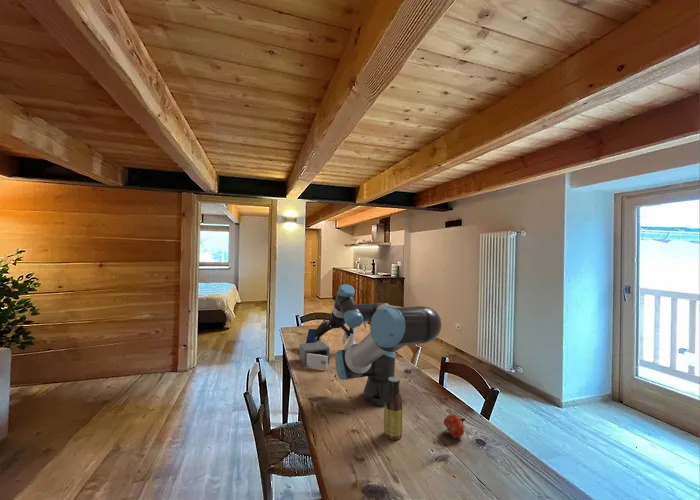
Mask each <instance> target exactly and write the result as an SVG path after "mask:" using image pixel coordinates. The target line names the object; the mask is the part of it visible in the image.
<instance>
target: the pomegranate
mask: <svg viewBox="0 0 700 500" xmlns="http://www.w3.org/2000/svg"><path fill="white" fill-rule="evenodd" d="M466 420H467V419H466V418H465V417H464V418H460V417H459V416H457V415H456V414H448V415H446V417H445V418H444V420H443V424H444V426H445V427H446V430H445V431H442V433H443V434H444V433H445V434H446V432H449V434H450V435H451V436H452V438H453V439H460V438H462V436H463V435H464V434H465V424H464V421H466Z"/></svg>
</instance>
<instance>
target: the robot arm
mask: <svg viewBox="0 0 700 500" xmlns="http://www.w3.org/2000/svg"><path fill="white" fill-rule="evenodd" d="M355 292H356V290H355V288H354V286H353V285H350V284H347V283H346V284H341V285H340V286H339V287H338V290H337V292H336V295H335V296H336V297H335V300H334V304H333V307H332V309H331V310H332V311H331V314H330V318H329V319H328V320H327V319H326V318H324V319H323V320H322V322H321V324H320V325H319V326H318V327H316V328H315V329H316V330H315V331H314V336H315V337H316V340H317V346H318V347H319V346H320V342H322V336H323V335H326V333H328V331H332V330H333V329H342V330H343V331H344V333H343V336H342V339H341V342H342V344H343V345H346V342H347V339H348V340H349V336H350V334H353V333H354V334H355V331H354V332H353V329H352V328H355V329H356V328H357V327H361V326H362V325H361V324H363V321H368V322H370V324H369V331H370V332H369V333H368V334H367V335H366V336H365V337H364V338H363V339H362V340H361V341H359V343H356V344H353V345H351V346H350V347H348V348H347V349H345V350H344V349H339V350H337V351H336V352H335V355H334V356H335V357H334V361H335V362H334V363H335V370H336V375H337V376H338V379H339V380H342V381H344V380H345V381H348V380H351V379H359V378H366V377H367V379H366V383H365V385H364V388H363V394H362V398H363V400H364V401H365V402H367V403H369V404H370V405H373V406H378V407H379V406H380V407H384V401H385V398H386V395H387V392H388V378H389V377H396V376H395V370H396V352H397V351H399V350H400V349H401V348H403V347H405V346H410V345H419V344H427V343H429V342H432V341H434V340H435V339H436V338H437V337H438V336H439V335H440V333H441V330H442V320H441V317H440V315H439V314H438V312H437V310H434V309H433V308H431V307H429V306H424V305H419V306H418V305H417V306H398V305H397V306H396V305H391V304H389V303H387V302H378V303H357V302H356V299H355V298H354V297H355ZM345 323H346V324H347V325H345ZM347 327H348V328H349V329H348V328H347Z"/></svg>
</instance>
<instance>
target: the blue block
mask: <svg viewBox="0 0 700 500" xmlns="http://www.w3.org/2000/svg"><path fill="white" fill-rule="evenodd" d="M316 329H317V328H309V329H308V331H307V336H306V339H305V344H306V343H317V340H316V337H315V336H314V331H315V330H316Z"/></svg>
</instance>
